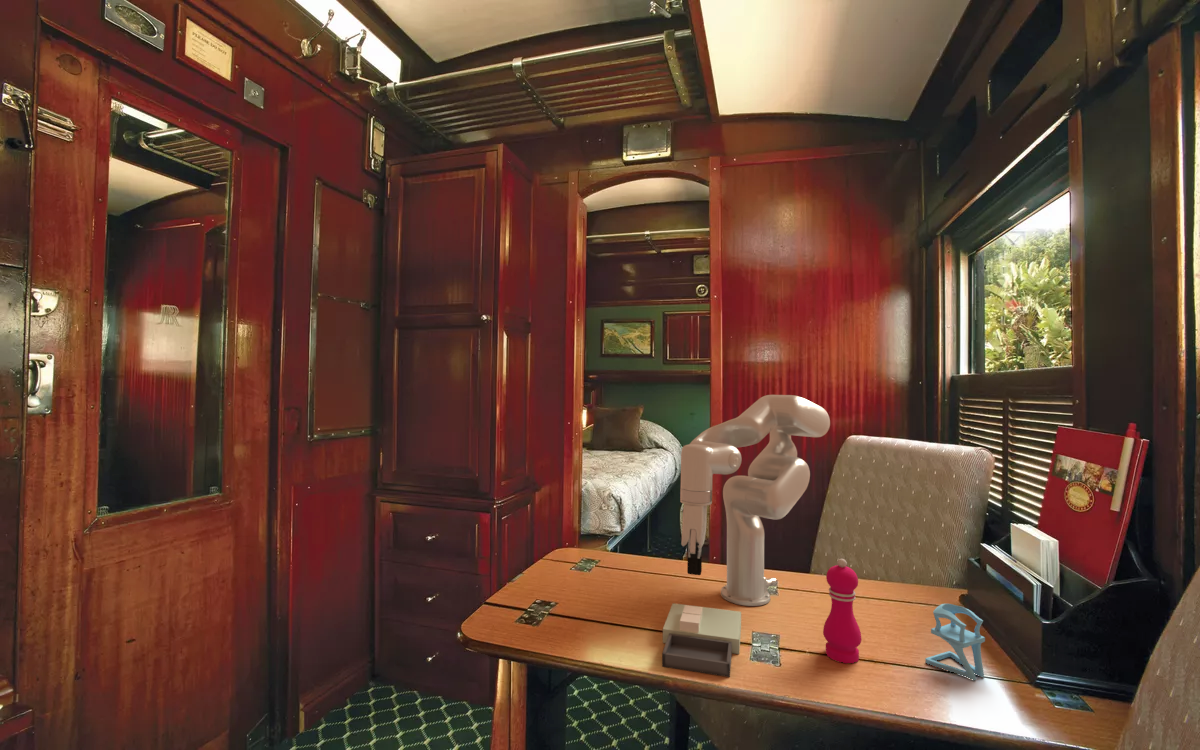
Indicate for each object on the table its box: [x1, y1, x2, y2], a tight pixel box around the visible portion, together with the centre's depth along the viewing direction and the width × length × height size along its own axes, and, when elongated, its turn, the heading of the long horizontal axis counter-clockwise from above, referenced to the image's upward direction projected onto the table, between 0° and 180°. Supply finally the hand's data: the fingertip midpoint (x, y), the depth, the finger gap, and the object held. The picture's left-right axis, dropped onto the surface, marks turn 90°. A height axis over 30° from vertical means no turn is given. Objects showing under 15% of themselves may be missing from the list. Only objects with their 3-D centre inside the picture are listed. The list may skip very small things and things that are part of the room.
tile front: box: [680, 613, 701, 633], centre depth 115 cm, size 4×4×2 cm
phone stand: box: [924, 603, 986, 681], centre depth 105 cm, size 8×8×12 cm
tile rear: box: [683, 604, 704, 620], centre depth 120 cm, size 4×4×2 cm
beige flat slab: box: [662, 602, 742, 655], centre depth 119 cm, size 14×16×3 cm
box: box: [661, 633, 733, 678], centre depth 107 cm, size 9×13×2 cm
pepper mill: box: [822, 558, 862, 664], centre depth 110 cm, size 7×7×20 cm
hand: (694, 573), depth 127 cm, fingers closed
